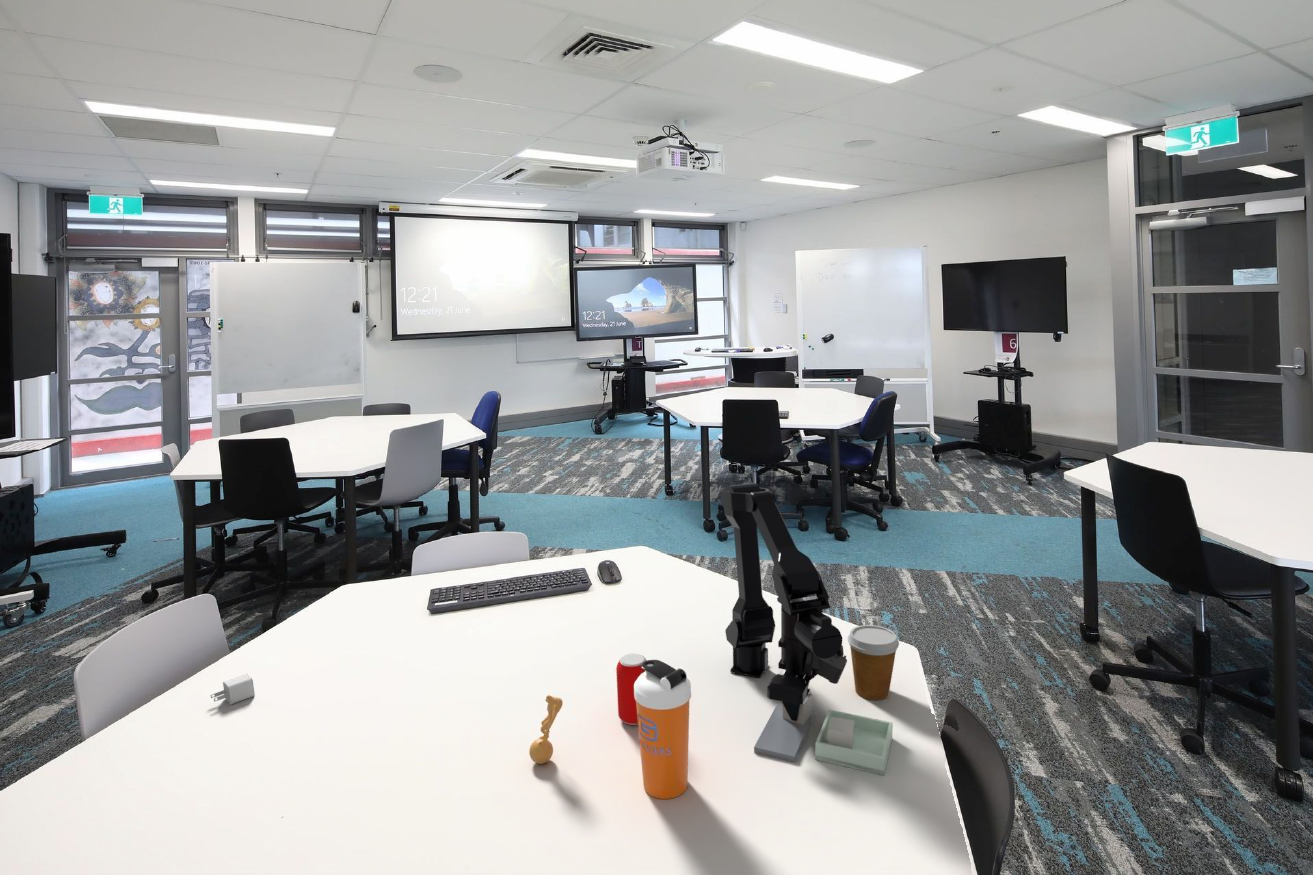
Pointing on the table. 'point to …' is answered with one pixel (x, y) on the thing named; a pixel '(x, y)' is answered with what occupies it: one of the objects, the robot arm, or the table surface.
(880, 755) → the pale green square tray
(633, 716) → the beverage can
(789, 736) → the slate board
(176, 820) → the table surface
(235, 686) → the usb wall charger
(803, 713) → the grey stone cube
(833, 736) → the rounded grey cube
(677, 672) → the shaker bottle
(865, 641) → the disposable coffee cup
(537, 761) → the figurine
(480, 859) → the table surface
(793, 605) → the robot arm
